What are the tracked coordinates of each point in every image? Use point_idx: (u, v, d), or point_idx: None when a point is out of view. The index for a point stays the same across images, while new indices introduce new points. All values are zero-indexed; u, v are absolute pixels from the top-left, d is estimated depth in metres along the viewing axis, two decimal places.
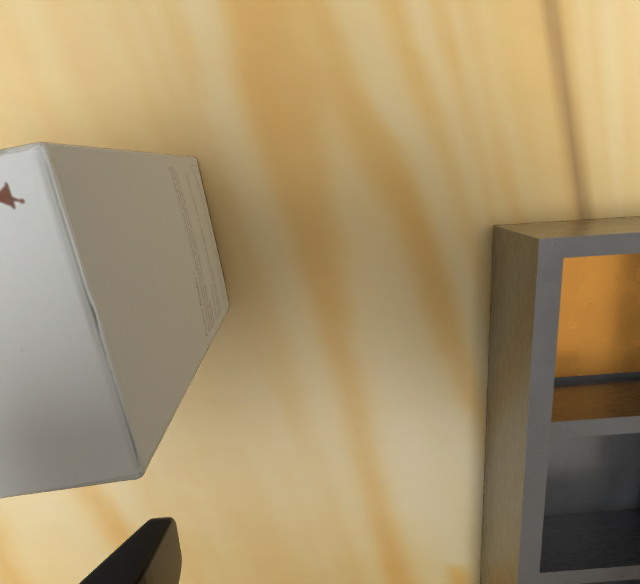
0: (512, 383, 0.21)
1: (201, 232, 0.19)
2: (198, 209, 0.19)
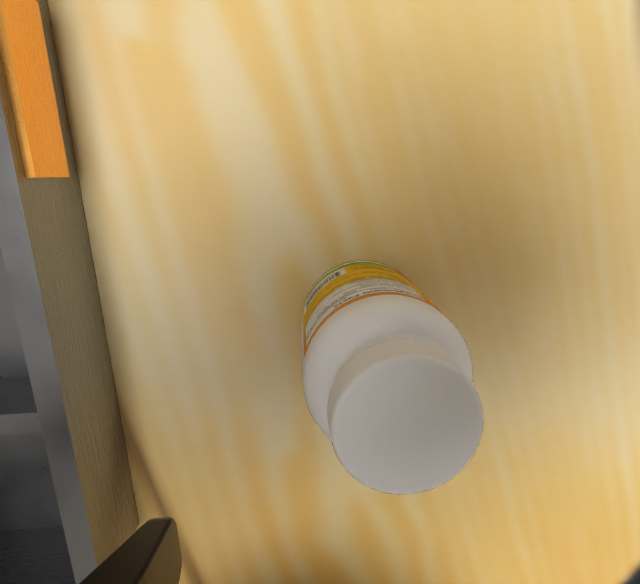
0: None
1: None
2: None
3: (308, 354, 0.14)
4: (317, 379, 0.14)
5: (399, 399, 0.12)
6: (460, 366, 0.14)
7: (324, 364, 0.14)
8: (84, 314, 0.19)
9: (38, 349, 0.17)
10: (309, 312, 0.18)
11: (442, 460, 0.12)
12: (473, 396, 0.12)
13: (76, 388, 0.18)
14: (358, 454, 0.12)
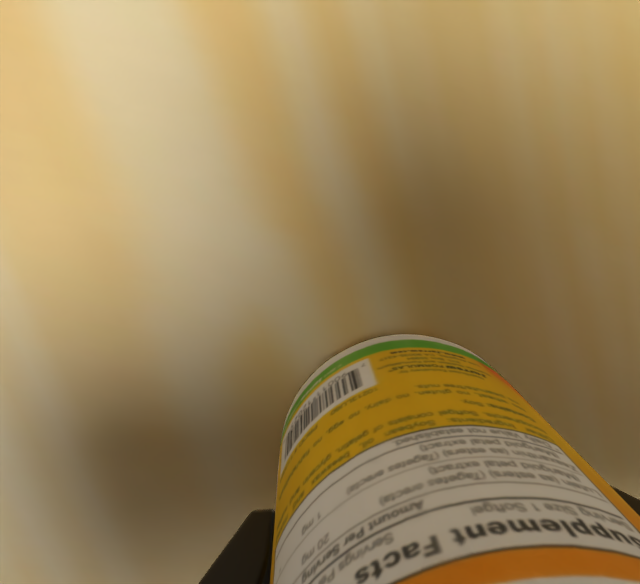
0: None
1: None
2: None
3: None
4: None
5: None
6: None
7: None
8: None
9: None
10: (288, 494, 0.07)
11: None
12: None
13: None
14: None
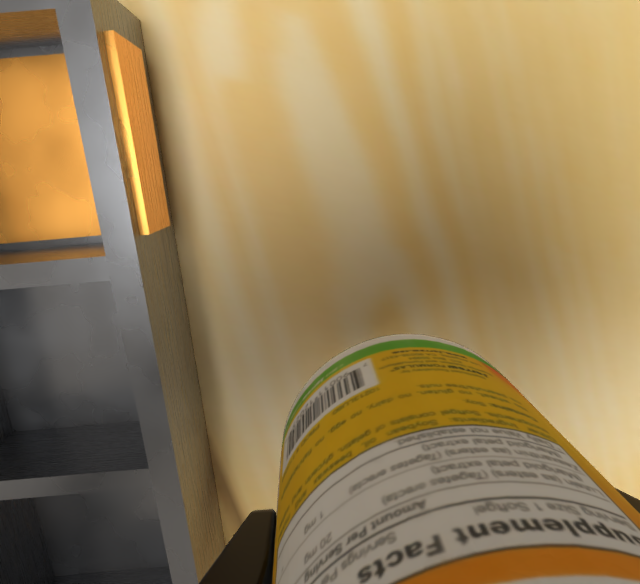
0: None
1: None
2: None
3: None
4: None
5: None
6: None
7: None
8: (183, 362, 0.19)
9: (151, 406, 0.16)
10: (290, 493, 0.07)
11: None
12: None
13: (182, 440, 0.18)
14: None
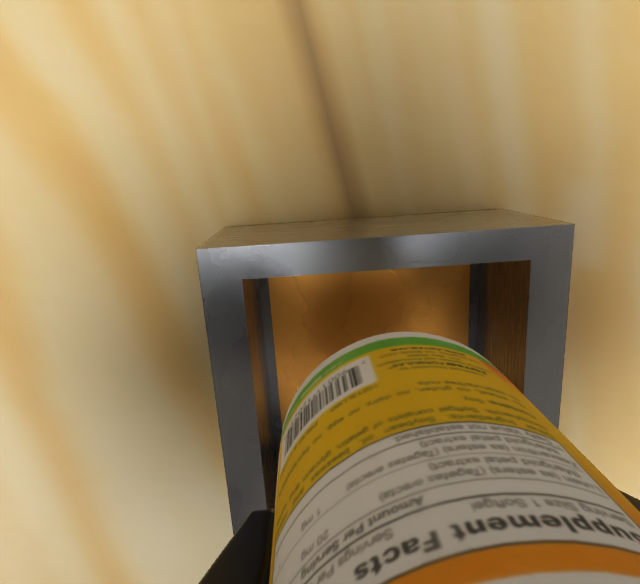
0: None
1: None
2: None
3: None
4: None
5: None
6: None
7: None
8: None
9: None
10: (288, 490, 0.07)
11: None
12: None
13: None
14: None
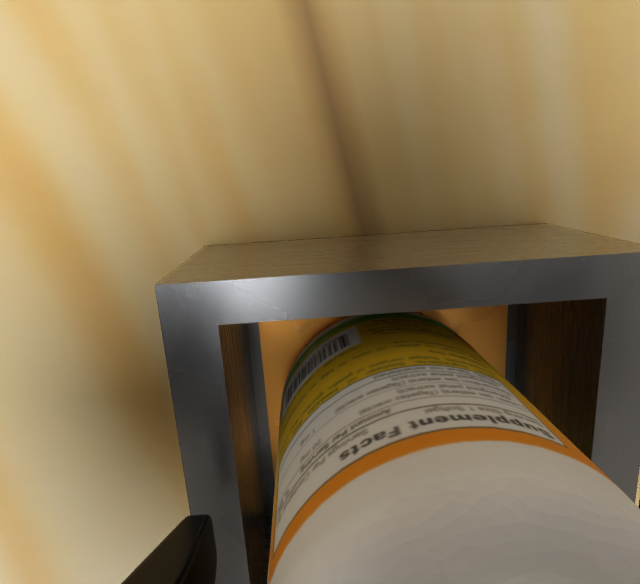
0: None
1: None
2: None
3: None
4: None
5: None
6: None
7: None
8: None
9: None
10: (289, 427, 0.09)
11: None
12: None
13: None
14: None
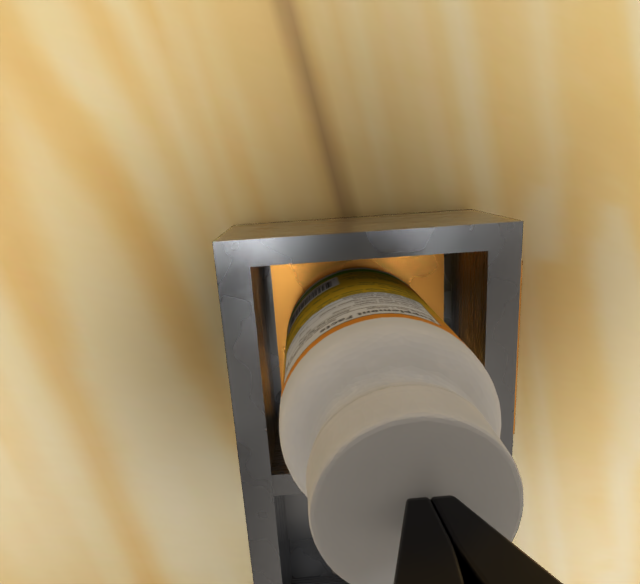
0: None
1: None
2: None
3: (285, 395, 0.11)
4: (295, 431, 0.10)
5: (406, 474, 0.08)
6: (486, 414, 0.10)
7: (305, 411, 0.10)
8: None
9: None
10: (292, 333, 0.14)
11: None
12: (510, 469, 0.08)
13: None
14: (347, 548, 0.09)
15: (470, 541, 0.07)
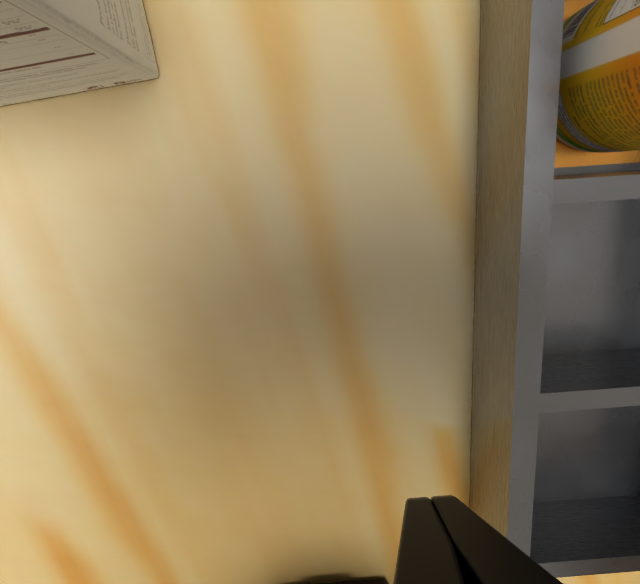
0: (505, 149, 0.17)
1: None
2: None
3: None
4: None
5: None
6: None
7: None
8: None
9: None
10: (598, 15, 0.14)
11: None
12: None
13: None
14: None
15: (470, 541, 0.07)
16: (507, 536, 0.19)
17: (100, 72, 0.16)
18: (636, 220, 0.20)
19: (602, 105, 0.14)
